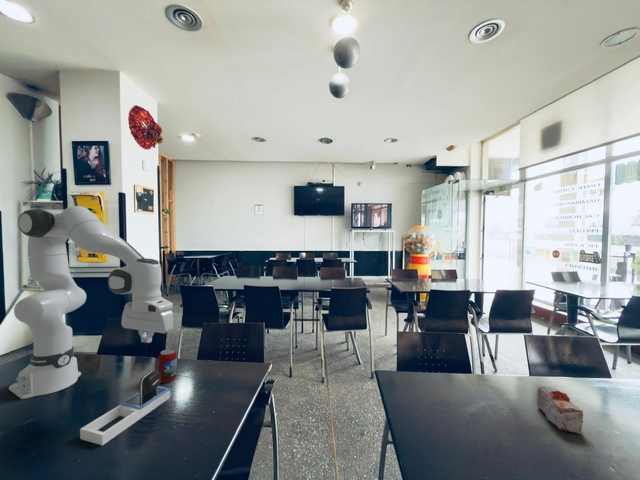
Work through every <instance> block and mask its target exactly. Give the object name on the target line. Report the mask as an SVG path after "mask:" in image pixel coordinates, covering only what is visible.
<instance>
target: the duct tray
mask: <svg viewBox="0 0 640 480" xmlns="http://www.w3.org/2000/svg"><path fill="white" fill-rule="evenodd" d="M156 394H157V396H155V397H154V398H152V399H151V400H149V401H148V402H146V403H144V404H143V405H140V396H139V391H138V392H137V393H135V394H133V395H131V396H130V397H129V398H127V399H125V400H123V401H122V402H120V403H119V405H117V406H115V407H114V408H112V409H111V410H109V411H107V412H106V413H104V414H103V415H101V416H99V417H97V418H96V419H94V420H93V421H91V422H89V423H88V424H86V425H84V426H83V427H81V428H79V436H80V437H79V439H80V440H82V441H85V442H90V443H93V444H96V445H100V446H105V444H107V443H108V442H110V441H111V440H112V439H113V438H115V437H117V436H118V435H119V434H121V433H122V432H123V431H125V430H126V429H128V428H129V427H131V426H132V425H134V424H135V423H136V422H138V421H139V420H141V419H142V418H144V417H145V416H146V415H148V414H149V413H151V412H152V411H153V410H155V409H156V408H158V407H159V406H161V405H162V404H163V403H164V402H166V401H168V400H169V399H170V398H171V388H170V387H165V386H160V385H159V386H158V387H156ZM119 417H123V419H121V420H119V421H118V422H117V423H115V424H113V425H112V426H111V427H109V428H107V429H106V430H104V431H101V430H100V429H102V428H103V427H104V426H106V425H108V424H109V423H110V422H112V421H115V419H117V418H119Z"/></svg>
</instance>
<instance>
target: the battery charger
mask: <svg viewBox="0 0 640 480" xmlns="http://www.w3.org/2000/svg"><path fill="white" fill-rule="evenodd" d="M161 383H162V382H161V379H160V373H159V372H158V371H156V370H155V371H154V370H150V371H148V372H147V373H145V374H144V375H143V376H142V377H141V378H140V380H139V388H138V389H139V390H138V392H139V396H140V403H139V405H143V404H144V403H146V402H148V401H149V400H151V399H152V398H154V397H155V396H157V394H156V387H158V386H160V385H161Z"/></svg>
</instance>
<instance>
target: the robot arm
mask: <svg viewBox="0 0 640 480" xmlns="http://www.w3.org/2000/svg"><path fill="white" fill-rule="evenodd" d="M17 224H18V229H19V230H20V232H21V233H22V234H24V235H25V236H27V237H28V241H27V259H28V268H29V276H30V278H31V279H32V280H34V281H36V282H38V283H39V284H40V285H41V287H42V289H43V291H41V292H37V293H33V294H31V295H28V296H26V297H24V298H22V299H20V300H19V301H18V302H16V304H15V305H14V307H13V308H14V309H13V314H14V316H15V319H16V320H18V322H21V323H23V324H26V325H27V326H28V328H29V330H30V331H31V334H32V339H33V340H32V341H33V343H32V344H33V353H32V354H30V361H29V364H28V365H27V366H26V367H25V368H23V369H22V370H21V371H19V373H18V376H17V377H16V378H15V383H12V384H11V385H9V387H8V390H9V391H10V392H12V393H13V394H14V395H16V396H17V397H18V398H19V399H21V400H26V399H30V398H33V397H38V396H44V395H45V396H46V395H48V394H52V393H56V392H59V391H61V390H64V389H66V388H69V387H71V386H72V385H74V384H75V383H76V382H77V381H78V378H79V377H80V376H81V375H82V372H81V371H79V370H78V360H77V357H75V347H74V346H73V328H72V327H71V326H69V325H67V324H66V323H65V322H64V317H63V316H64V315H65V314H68V313H71V312H74V311H75V310H77V309H79V308H81V306H83V305H84V304H85V303H86V300H87V293H86V291H85V290H84V289H83V288H81V287H79V286H78V284H77V283H76V282H75V280H74V279H73V276H72V274H71V271H70V267H69V265H70V264H69V259H68V251H67V244H66V243H67V241H68V239H71V240H72V242H73V243H74V244H75V245H76V247H78V248H79V249H80V250H83V251H84V252H88V253H92V254H93V253H94V254H103V255H108V256H112V257H115V258H118V259H120V260H121V261H122V262H123V263H124V264H126V265H125V266H123V267H119V268H115V269H114V270H112V271H111V272H110V273H109V274H108V277H107V287H108V289H109V290H110V291H111V292H112V293H113V294H116V295H125V294H131V295H132V296H131V300H132V301H128V302H127V303H125V305H124V307H123V308H124V309H123V310H122V311H123V312H122V315H121V322H120V323H121V326H122V328H123V329H128V330H129V329H130V330H136V331H138V334H139V336H140V340H141V343H147V344H149V343H152V341H153V336H154V334H155V333H159V334H166V333H168V332H171V331H172V330H173V327H174V313H173V311H172V309H173V307H174V304H173V302H171V301H170V300H168V299H166V298H164V297H162V291H161V286H162V279H163V278H162V266H161V264H160V262H159V261H158V260H157V259H154V258H153V259H152V258H146V257H144V256H143V255H142V254H140V252H138V251H137V250H136V249H135V248H134V247H133V246H132V245H131V244H130V243H129V242H127V240H125V239H123V238H121V237H120V236H118V235H117V234H115V232H113V231H112V230H110V228H108V227H107V226H106V225H105V224H104V223H103V222H102V220H101V219H100V218H99V217H98V216H97V215H96V214H95V213H93V212H92V211H91V210H89V208H87V207H84V206H81V205H72V206H69V207H66V208H65V209H62V208H60V209H59V208H57V209H40V208H35V209H34V208H33V209H28V210H24V211H22V212H21V214H20V215H19V216H18V220H17Z"/></svg>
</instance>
